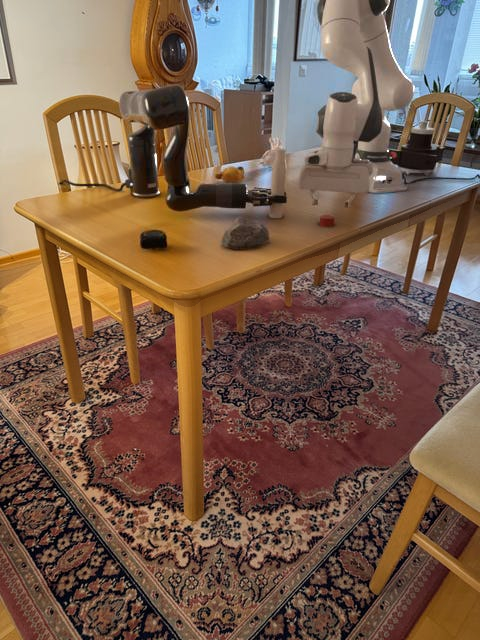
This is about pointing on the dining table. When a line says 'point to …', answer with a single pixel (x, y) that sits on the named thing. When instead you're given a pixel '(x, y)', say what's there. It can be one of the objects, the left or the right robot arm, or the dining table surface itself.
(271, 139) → the figurine
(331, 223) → the cap
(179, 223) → the dining table surface
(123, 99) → the left robot arm
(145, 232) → the tape measure
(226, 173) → the toy
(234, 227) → the rock
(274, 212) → the bottle
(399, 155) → the mechanical component
